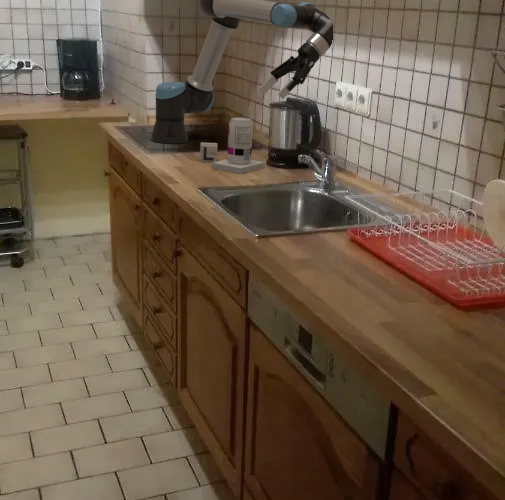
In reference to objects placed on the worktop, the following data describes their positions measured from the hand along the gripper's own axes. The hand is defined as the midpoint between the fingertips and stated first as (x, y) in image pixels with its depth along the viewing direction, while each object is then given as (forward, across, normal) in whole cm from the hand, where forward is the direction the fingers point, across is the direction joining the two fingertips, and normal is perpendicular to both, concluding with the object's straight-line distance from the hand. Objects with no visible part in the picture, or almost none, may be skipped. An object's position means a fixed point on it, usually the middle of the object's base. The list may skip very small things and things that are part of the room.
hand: (270, 93), depth 233 cm
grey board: (+26, 0, -11) cm, 28 cm away
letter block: (+30, +14, -7) cm, 34 cm away
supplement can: (+24, 0, -9) cm, 26 cm away
